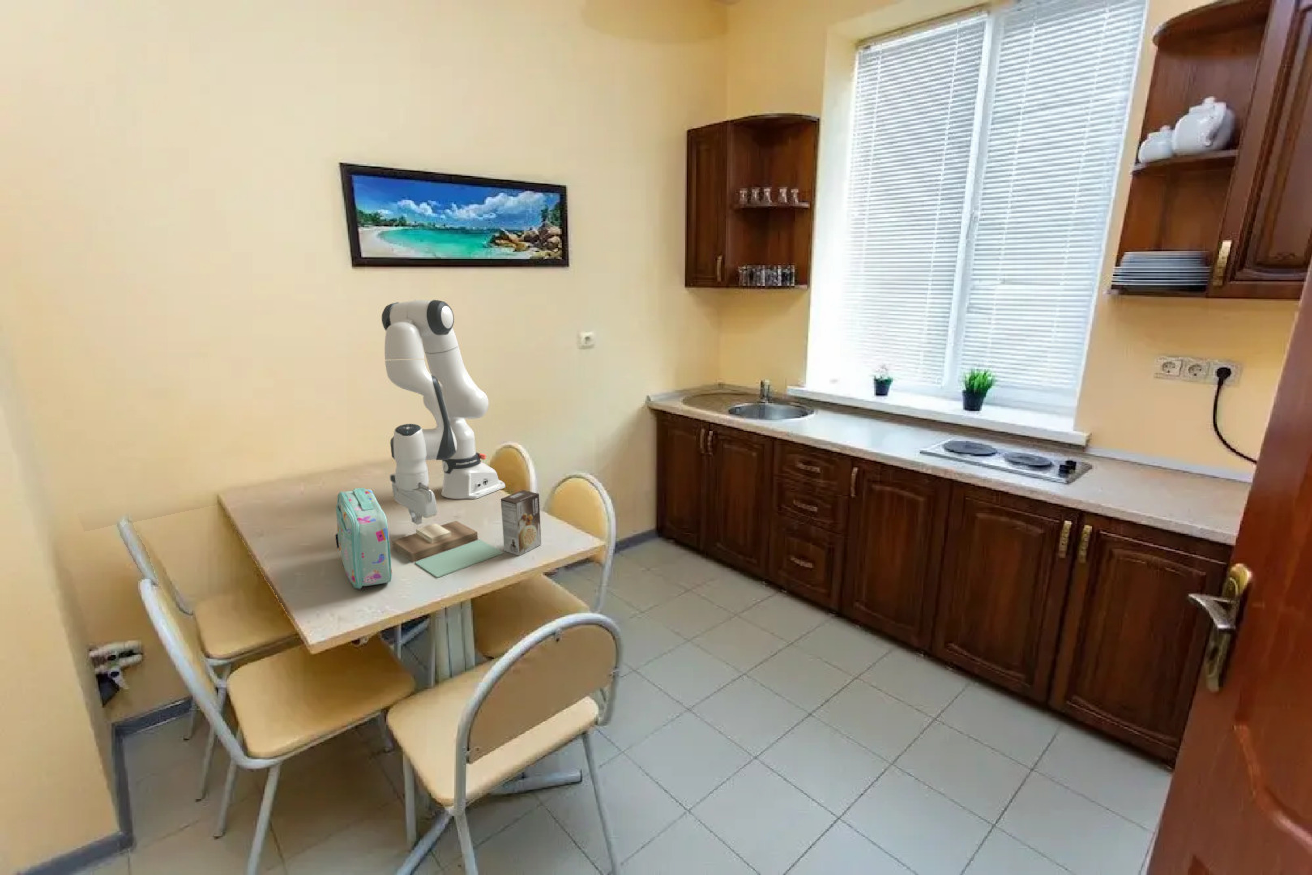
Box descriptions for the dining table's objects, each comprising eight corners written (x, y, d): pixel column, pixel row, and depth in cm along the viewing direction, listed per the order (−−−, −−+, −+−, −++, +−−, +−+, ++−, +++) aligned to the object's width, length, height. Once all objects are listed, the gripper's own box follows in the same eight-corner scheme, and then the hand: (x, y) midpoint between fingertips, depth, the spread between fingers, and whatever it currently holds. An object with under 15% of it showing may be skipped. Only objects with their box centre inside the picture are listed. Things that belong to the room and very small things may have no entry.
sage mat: (479, 540, 178) (479, 539, 178) (503, 553, 171) (503, 552, 171) (415, 563, 164) (414, 561, 164) (437, 578, 156) (437, 576, 156)
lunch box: (336, 557, 167) (326, 484, 161) (376, 548, 173) (368, 477, 167) (353, 598, 146) (343, 516, 140) (398, 587, 152) (390, 507, 146)
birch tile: (435, 527, 181) (435, 523, 180) (451, 536, 175) (450, 531, 175) (416, 533, 176) (416, 529, 176) (431, 543, 171) (431, 538, 170)
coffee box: (525, 539, 180) (523, 488, 176) (541, 544, 176) (540, 493, 172) (503, 550, 172) (500, 498, 168) (519, 556, 169) (517, 503, 165)
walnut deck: (456, 528, 187) (456, 520, 186) (477, 539, 179) (477, 531, 178) (393, 548, 172) (392, 540, 172) (413, 562, 165) (412, 553, 164)
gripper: (440, 485, 174) (444, 529, 177) (407, 469, 187) (411, 511, 191) (419, 490, 169) (423, 536, 173) (386, 474, 182) (391, 516, 186)
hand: (416, 522), depth 182 cm, fingers closed
